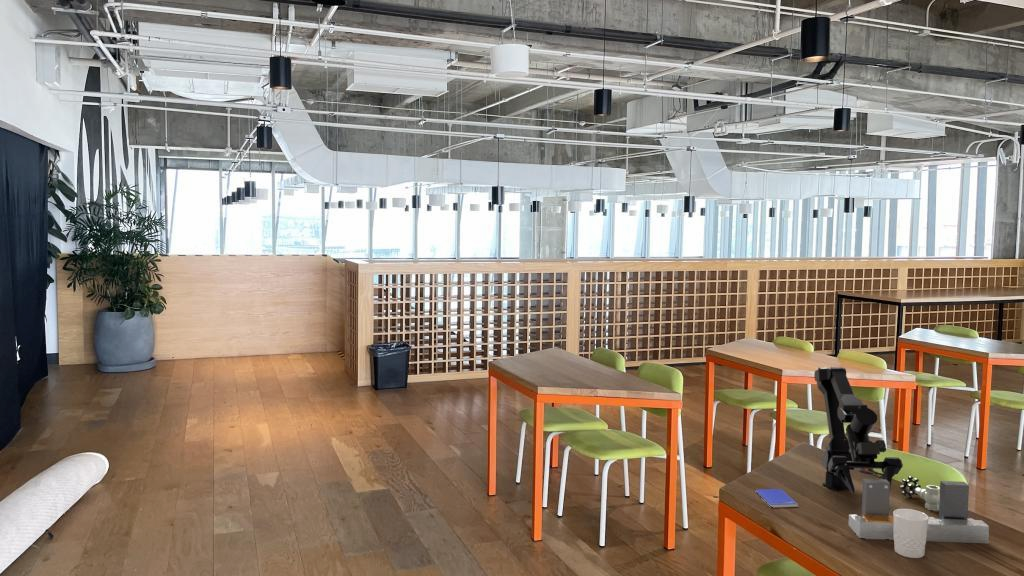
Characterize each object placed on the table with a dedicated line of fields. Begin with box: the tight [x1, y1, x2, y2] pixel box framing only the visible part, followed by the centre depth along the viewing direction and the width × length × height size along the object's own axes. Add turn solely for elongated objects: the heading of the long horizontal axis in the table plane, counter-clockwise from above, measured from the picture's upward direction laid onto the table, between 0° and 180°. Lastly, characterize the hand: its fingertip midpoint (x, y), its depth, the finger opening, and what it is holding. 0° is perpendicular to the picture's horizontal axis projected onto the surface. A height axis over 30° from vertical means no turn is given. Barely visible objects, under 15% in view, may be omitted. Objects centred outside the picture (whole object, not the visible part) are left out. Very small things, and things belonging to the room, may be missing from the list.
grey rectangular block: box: [861, 478, 891, 516], centre depth 208 cm, size 3×6×13 cm, turn 84°
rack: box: [847, 480, 990, 544], centre depth 205 cm, size 10×32×14 cm, turn 83°
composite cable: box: [859, 468, 883, 478], centre depth 254 cm, size 10×5×2 cm, turn 13°
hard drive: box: [755, 488, 799, 508], centre depth 232 cm, size 2×8×12 cm
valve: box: [899, 475, 940, 512], centre depth 227 cm, size 7×7×12 cm
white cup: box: [892, 508, 929, 559], centre depth 194 cm, size 8×8×10 cm
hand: (871, 493), depth 212 cm, fingers open, 9 cm apart
